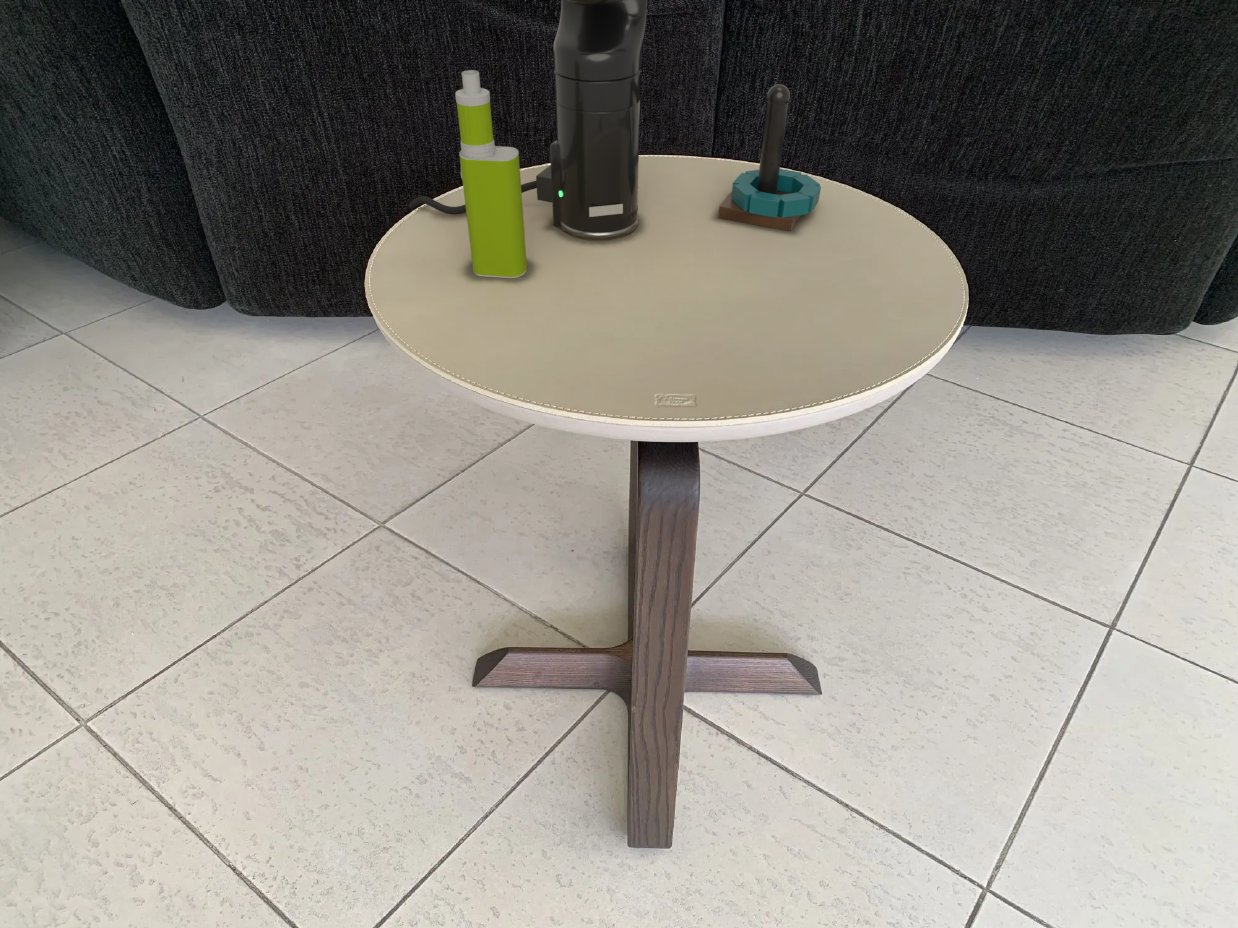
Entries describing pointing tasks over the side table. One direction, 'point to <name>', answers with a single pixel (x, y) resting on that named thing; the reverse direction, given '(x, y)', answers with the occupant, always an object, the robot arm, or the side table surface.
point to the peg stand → (767, 164)
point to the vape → (489, 187)
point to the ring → (773, 205)
